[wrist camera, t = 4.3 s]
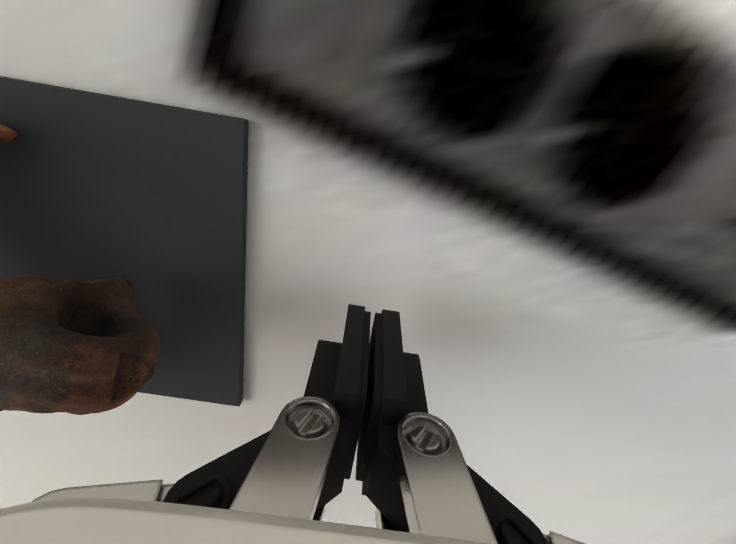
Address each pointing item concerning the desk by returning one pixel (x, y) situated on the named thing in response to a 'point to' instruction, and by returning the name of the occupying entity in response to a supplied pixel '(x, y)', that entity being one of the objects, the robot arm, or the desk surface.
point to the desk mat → (135, 218)
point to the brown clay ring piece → (71, 342)
